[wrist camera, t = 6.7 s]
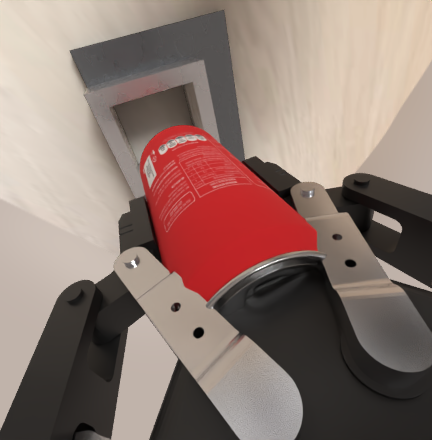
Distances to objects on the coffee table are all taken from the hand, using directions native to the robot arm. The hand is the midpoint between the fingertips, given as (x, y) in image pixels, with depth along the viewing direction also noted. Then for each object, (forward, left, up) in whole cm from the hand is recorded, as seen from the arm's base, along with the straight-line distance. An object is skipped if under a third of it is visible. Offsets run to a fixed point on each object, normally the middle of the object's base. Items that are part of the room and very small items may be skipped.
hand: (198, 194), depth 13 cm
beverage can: (0, 0, -5) cm, 5 cm away
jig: (-2, 0, -15) cm, 15 cm away
